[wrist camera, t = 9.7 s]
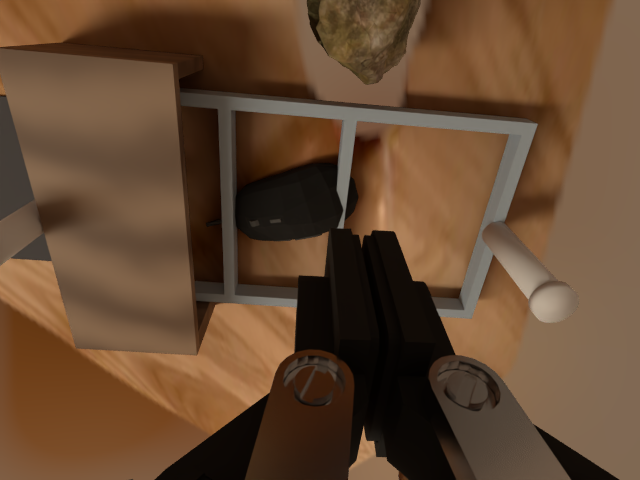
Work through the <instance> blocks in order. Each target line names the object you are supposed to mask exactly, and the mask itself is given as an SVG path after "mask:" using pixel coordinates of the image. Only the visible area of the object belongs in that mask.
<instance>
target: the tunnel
mask: <svg viewBox="0 0 640 480" xmlns="http://www.w3.org/2000/svg"><path fill="white" fill-rule="evenodd" d="M200 70H203V56H200V55H189V54H178V53H168V52H157V51H146V50H135V49H124V48H114V47H103V46H92V45H81V44H70V43H50V44H36V45H23V46H9V47H0V75H1V78H2V82H3V85H4V89H5V93H6V96H7V100H8V104H9V107H10V111H11V115H12V118H13V122H14V125H15V129H16V133H17V136H18V140H19V144H20V147H21V151H22V154H23V158H24V162H25V165H26V169H27V173H28V176H29V180H30V183H31V187H32V191H33V194H34V198H35V202H36V205H37V209H38V212H39V216H40V220H41V223H42V227H43V231H44V234H45V238H46V241H47V245H48V249H49V252H50V256H51V260H52V263H53V267H54V270H55V274H56V278H57V281H58V285H59V289H60V292H61V296H62V299H63V303H64V307H65V310H66V314H67V318H68V321H69V325H70V328H71V332H72V336H73V339H74V343H75V347H76V348H79V349H96V350H113V351H130V352H147V353H164V354H181V355H197V354H198V351H199V348H200V346H201V343H202V340H203V337H204V335H205V332H206V329H207V326H208V324H209V321H210V318H211V315H212V313H213V310H214V307H215V302H206V301H196V294H195V281H194V268H193V255H192V242H191V230H190V217H189V204H188V191H187V178H186V165H185V153H184V140H183V127H182V114H181V101H180V88H179V79H180V78H183V77H185V76H188V75H190V74H193V73H195V72H198V71H200Z"/></svg>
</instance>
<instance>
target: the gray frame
mask: <svg viewBox="0 0 640 480" xmlns="http://www.w3.org/2000/svg"><path fill="white" fill-rule="evenodd" d="M180 101H181V106H191V107H202V108H214V109H218V123H219V152H220V180H221V208H222V237H223V265H224V283H217V282H202V281H195V294H196V301H206V302H222V303H237V304H253V305H268V306H284V307H297V294H298V288H292V287H277V286H262V285H247V284H238V244H237V227H236V219H235V198H236V196H237V177H236V111H235V110H237V111H248V112H260V113H271V114H283V115H294V116H306V117H317V118H329V119H341V120H342V129H341V138H340V148H339V157H338V176H337V192H338V195H339V198H340V201H341V204H342V207H343V214H342V217H341V220H340V222H339V225H338V228H341V229H343V227H344V219H345V211H346V203H347V195H348V188H349V180H350V172H351V164H352V156H353V148H354V140H355V133H356V125H357V121H364V122H375V123H387V124H398V125H410V126H421V127H433V128H444V129H456V130H467V131H479V132H491V133H502V134H510V135H509V138H508V141H507V144H506V148H505V151H504V154H503V157H502V160H501V164H500V167H499V170H498V173H497V177H496V180H495V183H494V186H493V189H492V193H491V196H490V199H489V202H488V205H487V209H486V212H485V215H484V218H483V222H482V225H481V228H480V231H479V234H478V238H477V241H476V244H475V247H474V251H473V254H472V257H471V260H470V263H469V267H468V270H467V273H466V276H465V279H464V283H463V286H462V289H461V292H460V296H459V299H456V298H442V297H432V299H433V302H434V304H435V307H436V309H437V311H438V314H439V316H440V317H454V318H469V319H472V316H473V313H474V310H475V307H476V304H477V301H478V298H479V295H480V292H481V289H482V286H483V283H484V281H485V278H486V275H487V272H488V269H489V266H490V263H491V260H492V257H493V254H494V255H495V256H496V258H497V259H498V260H499V262H500V263H501V264H502V266H503V267H504V268H505V270H506V271H507V272H508V273H509V275H510V276H511V277H512V279H513V280H514V281H515V283H516V284H517V285H518V287H519V288H520V289H521V290H522V292H523V293H524V294H525V296H526V297H527V298H528V300H529V301H528V304H529V308H530V309H531V311H532V312H533V314H534V315H535V316H536V317H537V319H539V320H540V321H543V322H547V323H554V322H559V321H562V320H564V319H566V318H568V317H569V316H570V315H571V314H573V313H574V312H575V310H576V309H577V307H578V304H579V296H578V294H577V293H576V292H575V291H574V290H573V289H572V288H571V287H570V286H569V285H568V284H567V283H565V282H562V281H558V280H557V279H556V278H555V277H554V275H553V274H552V273H551V272H550V271H549V270H548V269H547V268H546V267H545V266H544V265H543V264H542V263H541V262H540V260H539V259H538V258H537V257H536V256H535V255H534V254H533V253H532V252H531V251H530V250H529V249H528V248H527V247H526V246H525V244H524V243H523V242H522V241H521V240H520V239H519V238H518V237H517V236H516V235H515V234H514V233H513V232H512V231H511V230H510V229H509V227H508V226H507V225H506V224H504V222H505V219H506V216H507V213H508V210H509V207H510V204H511V201H512V198H513V195H514V192H515V189H516V187H517V184H518V181H519V178H520V175H521V172H522V169H523V166H524V163H525V160H526V157H527V154H528V151H529V148H530V145H531V142H532V140H533V137H534V134H535V131H536V128H537V125H538V124H537V123H535V122H533V121H531V120H528V119H526V118H514V117H503V116H492V115H481V114H469V113H458V112H447V111H435V110H424V109H413V108H402V107H390V106H379V105H367V104H356V103H344V102H334V101H323V100H311V99H300V98H289V97H278V96H266V95H255V94H244V93H232V92H221V91H210V90H199V89H187V88H180ZM43 233H44V231H43V227H42V223H41V220H40V216H39V212H38V209H37V205H36V202H35V199H34V200H33V201H31V202H30V203H28V204H26V205H25V206H23V207H22V208H20V209H18V210H17V211H15V212H13V213H12V214H10V215H9V216H7V217H5V218H4V219H2V220H1V221H0V266H1V265H2V264H3V263H5V262H6V261H7V260H9V259H10V258H11V257H12V256H14V255H15V254H16V253H18V252H19V251H20V250H22V249H23V248H24V247H26V246H27V245H28V244H30V243H31V242H32V241H33V240H35V239H36V238H37V237H39V236H40V235H41V234H43Z"/></svg>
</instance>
